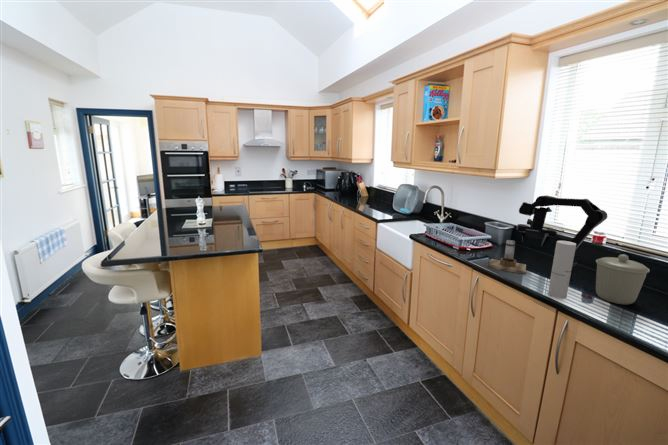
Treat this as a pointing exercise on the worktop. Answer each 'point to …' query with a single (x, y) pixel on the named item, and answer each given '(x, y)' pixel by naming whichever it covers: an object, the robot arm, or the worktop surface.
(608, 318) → the worktop surface
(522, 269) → the oak base board
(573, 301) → the worktop surface
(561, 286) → the cylindrical container
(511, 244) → the steel tube
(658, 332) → the worktop surface
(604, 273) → the canister
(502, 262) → the wooden collar
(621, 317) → the worktop surface
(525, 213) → the robot arm
